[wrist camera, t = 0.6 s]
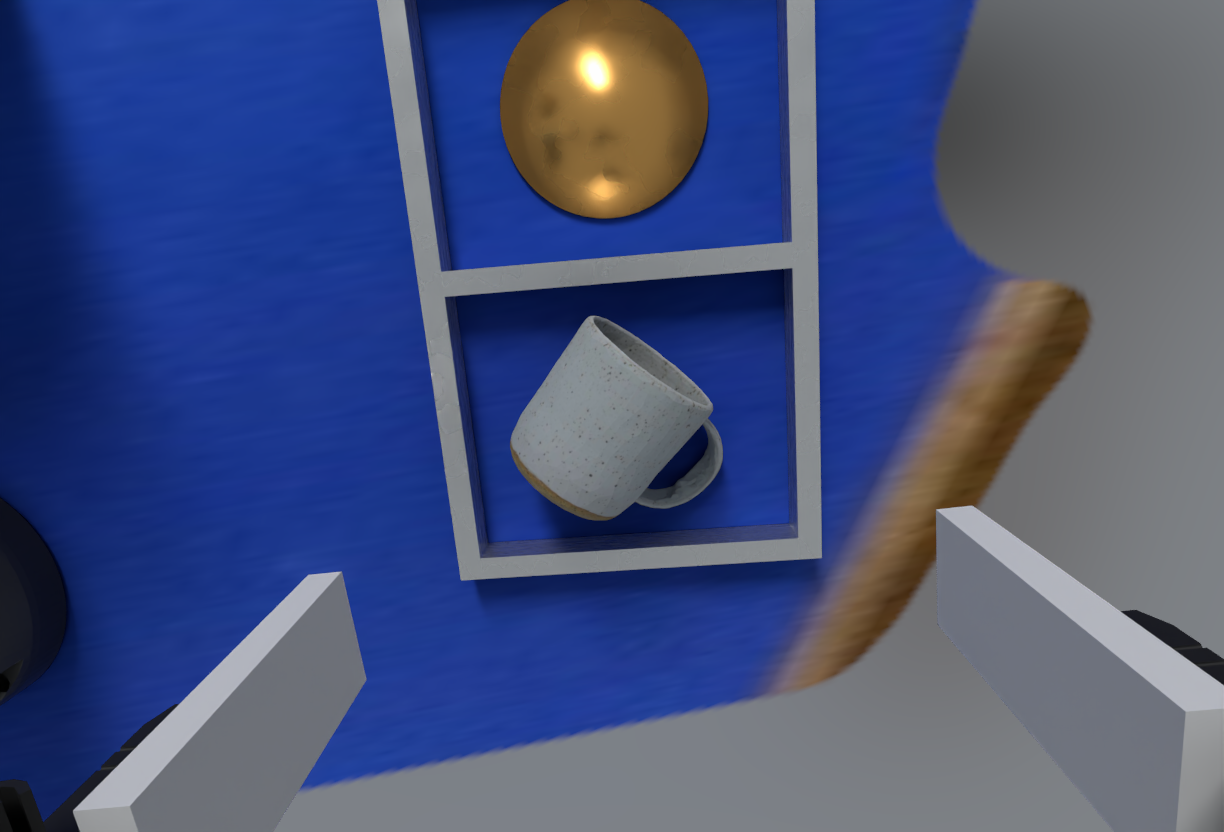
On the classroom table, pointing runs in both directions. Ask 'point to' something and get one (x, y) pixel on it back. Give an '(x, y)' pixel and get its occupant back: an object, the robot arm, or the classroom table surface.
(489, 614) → the classroom table surface
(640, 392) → the ceramic mug
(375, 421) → the classroom table surface
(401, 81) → the slot rack
